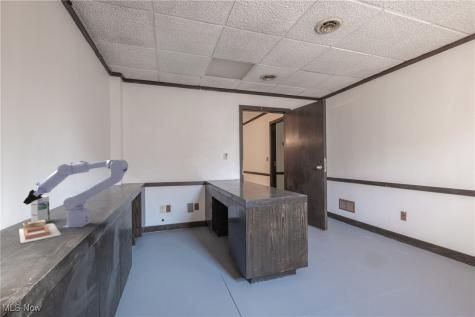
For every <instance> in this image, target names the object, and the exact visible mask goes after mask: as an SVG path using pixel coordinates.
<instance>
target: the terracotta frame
mask: <svg viewBox="0 0 475 317" xmlns="http://www.w3.org/2000/svg"><path fill="white" fill-rule="evenodd" d="M40 230H45V232H41V233H36V234H31V235H28V233H30V232H35V231H40ZM45 235H50V231H49V229H48V227H47V226H42V227H37V228H32V229H26V230H24V236H25V240H26V239H31V238H35V237H40V236H45Z"/></svg>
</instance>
